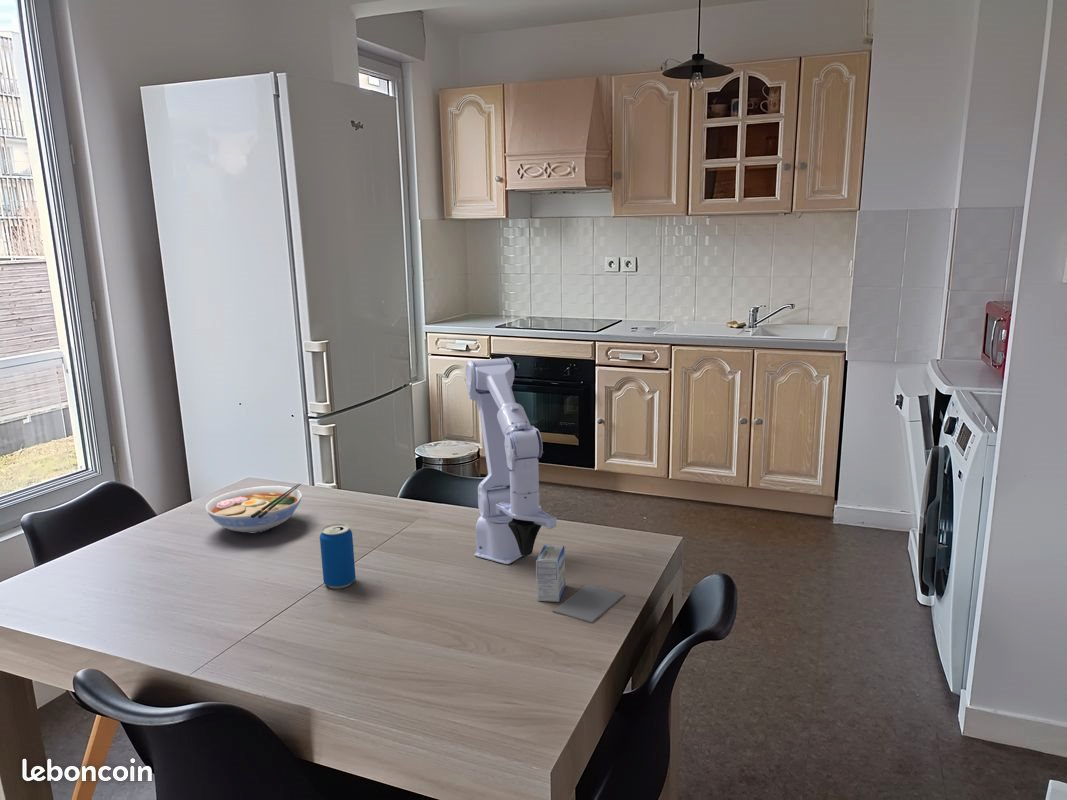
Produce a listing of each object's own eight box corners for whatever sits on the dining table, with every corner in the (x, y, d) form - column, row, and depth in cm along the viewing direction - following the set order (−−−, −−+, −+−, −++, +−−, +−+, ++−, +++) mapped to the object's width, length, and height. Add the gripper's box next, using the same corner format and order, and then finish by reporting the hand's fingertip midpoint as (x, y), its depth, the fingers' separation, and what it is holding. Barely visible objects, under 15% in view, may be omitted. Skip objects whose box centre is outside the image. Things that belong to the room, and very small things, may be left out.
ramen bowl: (240, 509, 205) (236, 480, 203) (321, 511, 202) (318, 482, 200) (186, 546, 181) (182, 513, 179) (277, 549, 177) (274, 516, 176)
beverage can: (362, 579, 161) (358, 525, 158) (342, 592, 155) (337, 536, 152) (337, 574, 163) (333, 521, 161) (317, 587, 158) (312, 532, 155)
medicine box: (559, 603, 148) (558, 561, 146) (536, 601, 149) (535, 559, 147) (565, 585, 156) (565, 545, 154) (544, 583, 157) (543, 543, 155)
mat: (553, 611, 145) (552, 610, 145) (587, 585, 155) (587, 584, 155) (591, 623, 140) (591, 621, 140) (624, 595, 150) (624, 593, 150)
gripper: (565, 491, 149) (567, 556, 152) (511, 477, 159) (513, 539, 162) (542, 501, 144) (543, 568, 147) (487, 486, 154) (490, 550, 157)
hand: (526, 554), depth 154 cm, fingers closed
